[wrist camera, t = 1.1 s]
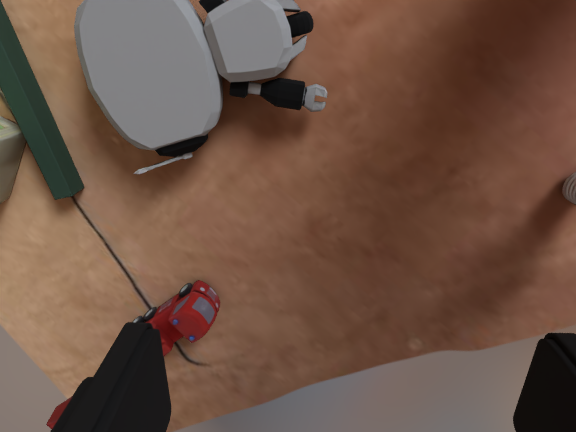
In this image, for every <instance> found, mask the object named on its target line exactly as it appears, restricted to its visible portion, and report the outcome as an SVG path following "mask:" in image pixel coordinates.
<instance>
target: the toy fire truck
mask: <svg viewBox="0 0 576 432" xmlns="http://www.w3.org/2000/svg"><path fill="white" fill-rule="evenodd" d="M219 307H220V300H219V298H218V296H217V294H216V293H215V291H214V290H213V289H212V288H211V287H210V286H209V285H207V284H206V283H204V282H202V281H200V280H198V281H196V282H195V283H194V285H192V284H191V283H188V284H186V285H185V286H184V287H183V288H182V289H181V290H180V292H179V294H177V295H176V296H174V297H173V298H171V299H170V300H168V301H167V302H165V303H164V304H162V305H161V306H159V307H158V309H156V308H155V307H154V308H151V309H150V310H149V311H148V312H147V313H146V314H145V315H144V317H142V316H139V317H137V318H136V319H135V320H134V321H133V322H135V323H151V324H152V326H153V329H158V330H159V331H160V336H161V343H162V349H163V356H165V355H166V354H168V353H169V352H170V351H171V350H172V347H173V344H174V342H176V341H177V340H179V339H180V338H182V337H183V336H185V337H186V339H188V340H189V341H190V342H191V343H193V342H195V341H197V340H198V339H200V338H201V337H203V336H204V335H205V334H206V333H207V331H208V330H209V329H210V327H211V326H212V324H213V322H214V321H215V318H216V316H217V312H218V310H219ZM144 320H145V322H144ZM71 398H72V397H71ZM71 398H69V399H67V400H66V401H65V402H63V403H61V404H60V405H58V406H57V407H56V408H55V410H54V412H53V414H52V415H51V417H50V419H49V420H48V422H47V426H49V427H50V428H51V429H52V428H53V427H54V425H55V424H56V422H57V420H58V419H59V417H60V416H61V414H62V412H63V411H64V409H65V408H66V406H67V404H68V403H69V401H70V400H71Z"/></svg>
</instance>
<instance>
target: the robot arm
mask: <svg viewBox="0 0 576 432" xmlns="http://www.w3.org/2000/svg"><path fill="white" fill-rule="evenodd" d="M170 416H171V401H170V395H169V388H168V382H167V375H166V369H165V362H164V356H163V349H162V343H161V336H160V331H159V330H158V329H153V326H152V324H151V323H135V322H128V323H126V324H125V325H124V327H123V328H122V330H121V332H120V333H119V335H118V337H117V338H116V340H115V342H114V343H113V345H112V347H111V348H110V350H109V352H108V353H107V355H106V357H105V358H104V360H103V362H102V363H101V365H100V367H99V368H98V370H97V372H96V373H95V375H94V377H87V378H86V379H85V380H83V381H82V383H81V384H80V385H79V387H78V388H77V390H76V392H75V393H74V395H73V396H72V398H71V400H70V401H69V403H68V404H67V406H66V408H65V409H64V411H63V412H62V414H61V416H60V417H59V419H58V420H57V422H56V424H55V425H54V427H53V428H52V430H51V432H166V430H167V427H168V424H169V421H170ZM513 423H514V428H515V430H516V432H576V334H574V333H548V334H547V335H545V338H544V339H540V340H539V342H538V344H537V347H536V350H535V353H534V356H533V359H532V362H531V365H530V368H529V371H528V374H527V377H526V380H525V383H524V386H523V389H522V392H521V394H520V397H519V400H518V404H517V406H516V410H515V412H514V416H513Z"/></svg>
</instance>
